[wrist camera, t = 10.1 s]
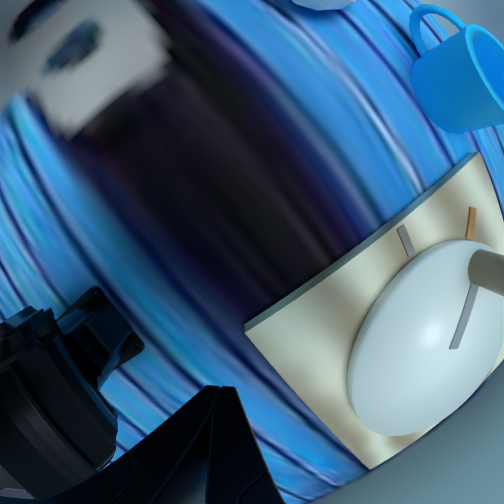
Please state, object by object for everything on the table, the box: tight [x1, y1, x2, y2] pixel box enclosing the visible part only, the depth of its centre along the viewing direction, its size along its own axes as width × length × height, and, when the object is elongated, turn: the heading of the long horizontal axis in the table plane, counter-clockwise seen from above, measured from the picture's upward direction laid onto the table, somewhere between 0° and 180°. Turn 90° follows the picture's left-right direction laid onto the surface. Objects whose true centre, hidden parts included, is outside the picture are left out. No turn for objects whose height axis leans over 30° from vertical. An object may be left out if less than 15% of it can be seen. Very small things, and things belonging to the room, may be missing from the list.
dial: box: [347, 239, 504, 436], centre depth 15 cm, size 20×20×10 cm
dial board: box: [244, 152, 504, 469], centre depth 21 cm, size 26×26×2 cm
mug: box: [409, 4, 504, 134], centre depth 14 cm, size 12×8×8 cm
